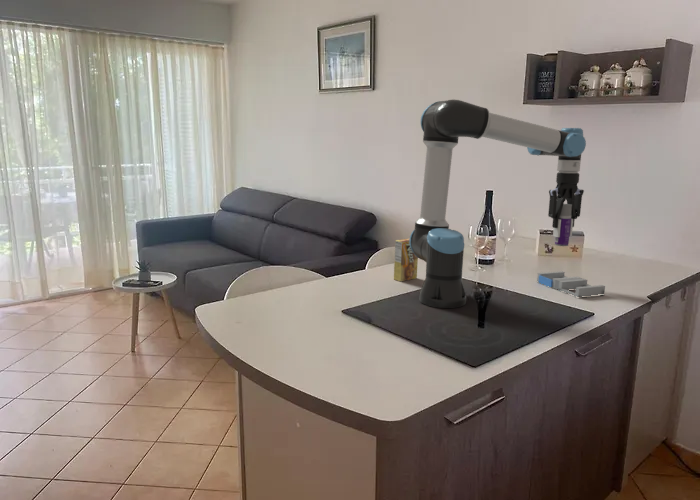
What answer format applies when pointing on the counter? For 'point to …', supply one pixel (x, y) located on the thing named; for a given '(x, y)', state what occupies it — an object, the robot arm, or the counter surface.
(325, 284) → the counter surface
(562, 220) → the container
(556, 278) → the grey and blue rack
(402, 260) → the candy box
